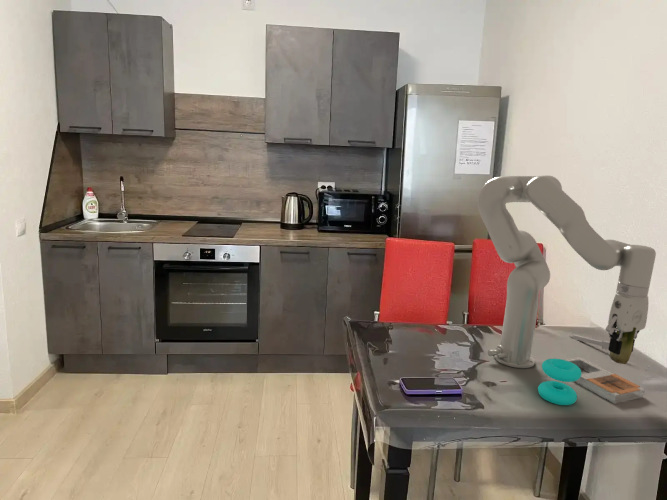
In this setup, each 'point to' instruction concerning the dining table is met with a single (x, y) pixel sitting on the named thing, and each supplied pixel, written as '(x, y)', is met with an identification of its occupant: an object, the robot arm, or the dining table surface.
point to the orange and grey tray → (614, 387)
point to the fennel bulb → (624, 347)
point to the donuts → (555, 389)
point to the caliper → (592, 341)
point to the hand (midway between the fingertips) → (620, 350)
